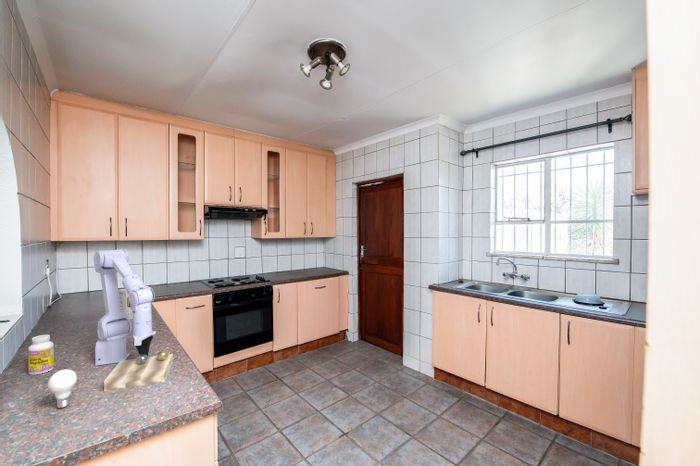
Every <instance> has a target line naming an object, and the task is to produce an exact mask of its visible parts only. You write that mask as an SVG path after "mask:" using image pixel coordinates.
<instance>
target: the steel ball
mask: <svg viewBox="0 0 700 466" xmlns="http://www.w3.org/2000/svg"><path fill="white" fill-rule="evenodd" d="M148 357H149V355H148V356H147V355H146V354H140V355H139V354H138V356H137V357H136V358H137V359H136V358H135V359H136V361H137V363H138V364H144V363H146V362H147V360H148Z"/></svg>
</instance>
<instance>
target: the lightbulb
mask: <svg viewBox="0 0 700 466" xmlns="http://www.w3.org/2000/svg"><path fill="white" fill-rule="evenodd" d="M77 379H78V375H77V372H76V371H74V370H72V369H70V368H69V369H67V368H65V369H60V370H57V371H56V372H54V373H53V374H52V375H51V376H50V377H49V379H48V381H47V388H48V390H49V391H50V392H51V393H52V394H53V395H54V397H55V399H56V405H57V406H56V407H57V408H58V409H59V408H61V409H63V408H65V407H67V406H69V404H70V395H71V394H72V390H73V388H74V387H75V385H76V383H77V381H78V380H77Z"/></svg>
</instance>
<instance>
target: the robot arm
mask: <svg viewBox="0 0 700 466" xmlns="http://www.w3.org/2000/svg"><path fill="white" fill-rule="evenodd" d="M129 256H130V254H129V252H128V250H127V249H125V248H120V249H106V250H104V249H103V250H101V249H100V250H96V252H95V253H94V256H93V265H94V266H93V267H94V269H95V272H96V273H98V274H100V282H101V289H102V296H103V304H104V305H103V306H104V312H105V314H104V315H103V316H102V317H101V318H100V319H99V320H98V321H97V330H96V331H97V332H96V333H97V337H98V338H99V339H98V340H97V341H96V343H95V347H94V348H95V349H94V353H95V355H94V356H95V359H94V360H95V364H94V366H101V365H102V366H103V365H110V364H118V363H119V362H120V361H121V360H128V358H129V356H130V355H131V353H130V352H127V336H129V333H131V331H132V330H133V334H132V338H133V340H132V343H133V345H134V348H136V350H137V352H138V356H139V355H140V354H146V355H147V356H148V357H149V353H150V352H149V351H150V347H151V343H152V341H153V339H154V335H156V334H157V331H156V330H153V317H152V316H153V315H152V303H153V302H154V301H155V292H154V290H153V287H150V286H148V285H146V284H145V283H144V281H143V279H141V277H140V275H138V274H136V273H134V272H133V269H132V267H131V266H130V264H129V261H130V260H129V259H130V257H129ZM117 273H118V274H119V275H120V277H121V278H122V280H121V281H122V282H121V284H122V286H123V288H124V289H126V291H127V292H128V294H129V303H130V305H131V310H132V311H133V319H132V322H131V320H130V319H129V316H128V315H127V314H125V313H123V312H121V307H120V300H119V293H118V290H119V286H118V280H117ZM132 326H133V327H132Z"/></svg>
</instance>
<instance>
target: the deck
mask: <svg viewBox="0 0 700 466" xmlns="http://www.w3.org/2000/svg"><path fill="white" fill-rule="evenodd" d="M173 354H174V353H168V357H167V358H166V359H165V360H159V359H158V358H157V355H152V356H148V360H147V362H146V363H144V364H138V363H137V361H136V359H137V357H136V358H129V359H126V360H121V361H120V362H119V363H117V365H116V366H115V367H114V368H113V369H112V371H111V372H110V373H109V374H108V375H107V377H106V378H105V379H104V380H103V390H104V391H103V392H110V391H116V390H123V389H130V388H137V387H142V386H147V385H148V386H150V385H155V384H161V383H165V382H166V380H167V377H168V375H169V373H170V371H171V368H172V366H173V364H174V355H173Z"/></svg>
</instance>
